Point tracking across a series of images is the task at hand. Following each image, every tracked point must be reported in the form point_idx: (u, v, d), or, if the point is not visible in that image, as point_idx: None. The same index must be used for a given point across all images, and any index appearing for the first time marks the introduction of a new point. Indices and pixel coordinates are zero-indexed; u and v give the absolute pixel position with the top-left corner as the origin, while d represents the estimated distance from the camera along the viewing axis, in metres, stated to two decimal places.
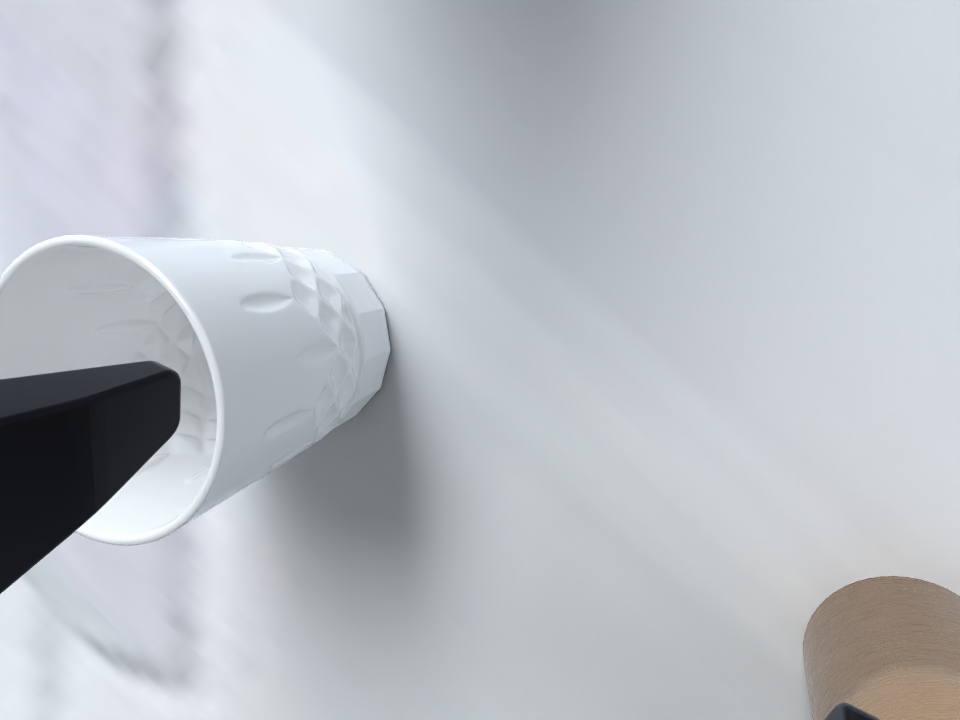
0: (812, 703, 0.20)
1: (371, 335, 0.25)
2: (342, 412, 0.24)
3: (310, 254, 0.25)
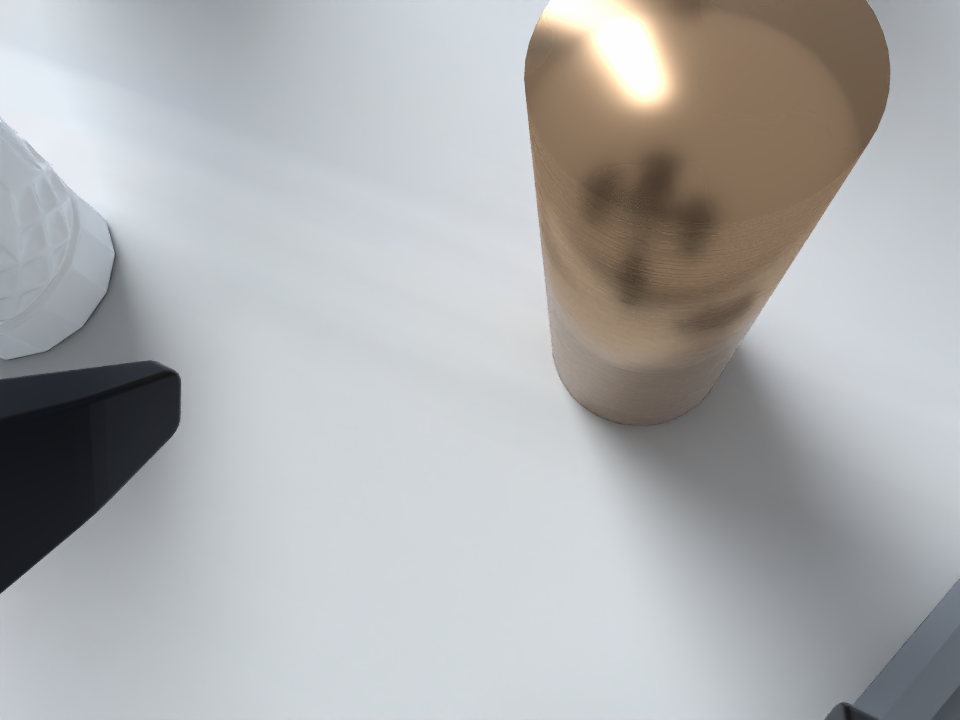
0: (551, 330, 0.21)
1: (89, 219, 0.26)
2: (55, 267, 0.24)
3: None
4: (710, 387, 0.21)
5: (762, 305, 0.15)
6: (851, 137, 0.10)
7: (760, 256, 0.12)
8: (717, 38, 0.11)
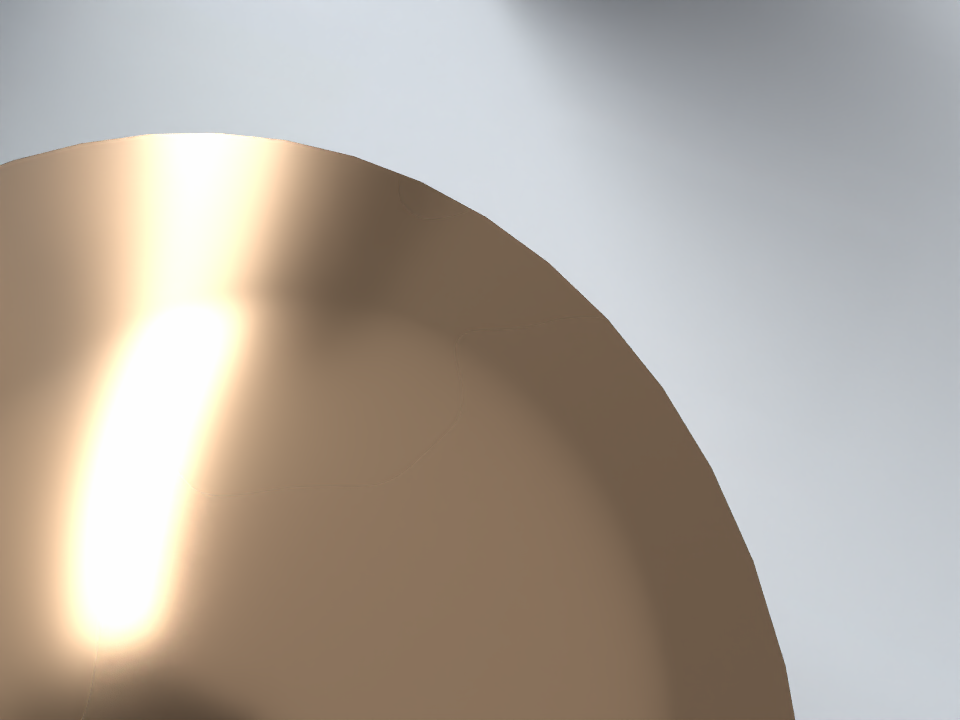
0: None
1: None
2: None
3: None
4: None
5: None
6: None
7: None
8: (134, 625, 0.03)
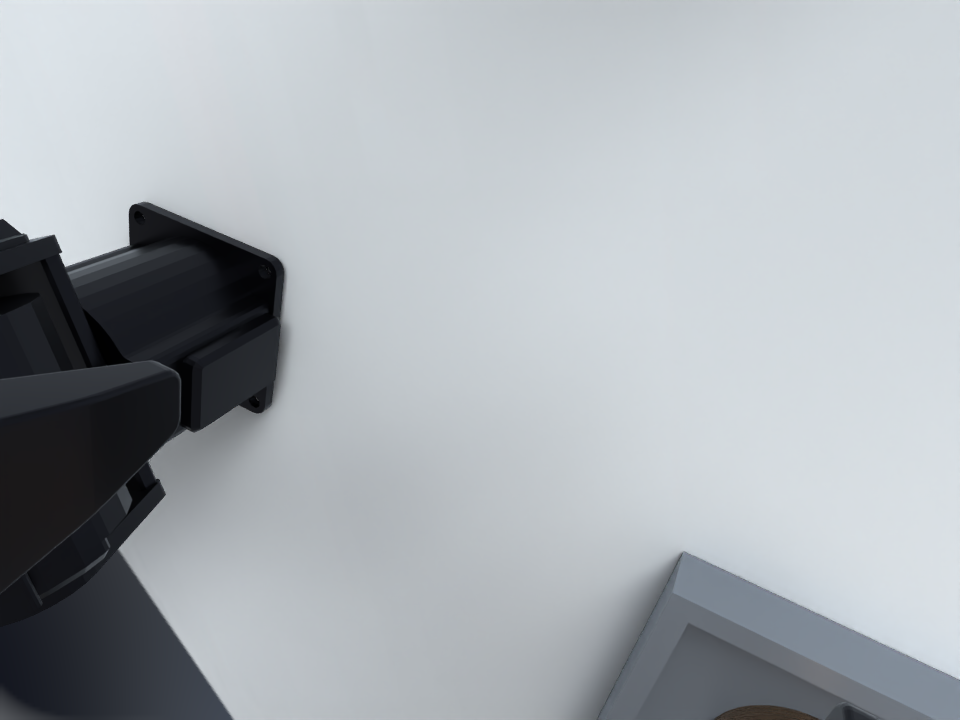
0: None
1: None
2: None
3: None
4: None
5: None
6: None
7: None
8: None
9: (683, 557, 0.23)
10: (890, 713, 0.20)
